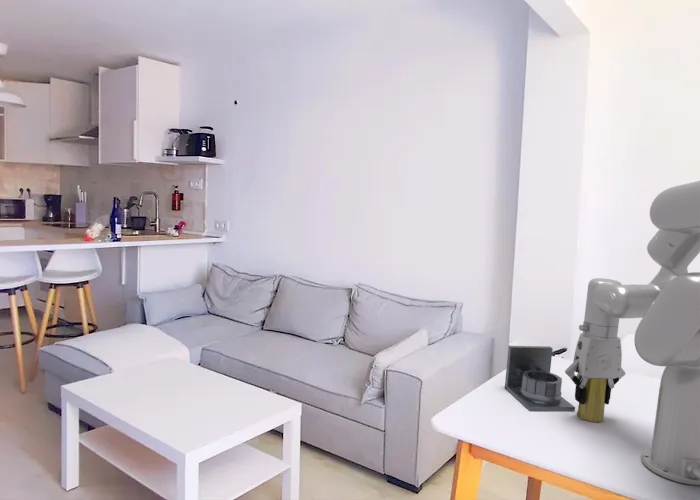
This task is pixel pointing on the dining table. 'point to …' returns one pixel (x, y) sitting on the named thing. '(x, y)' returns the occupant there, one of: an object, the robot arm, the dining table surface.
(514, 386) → the cup bracket
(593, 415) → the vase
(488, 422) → the dining table surface
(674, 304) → the robot arm
